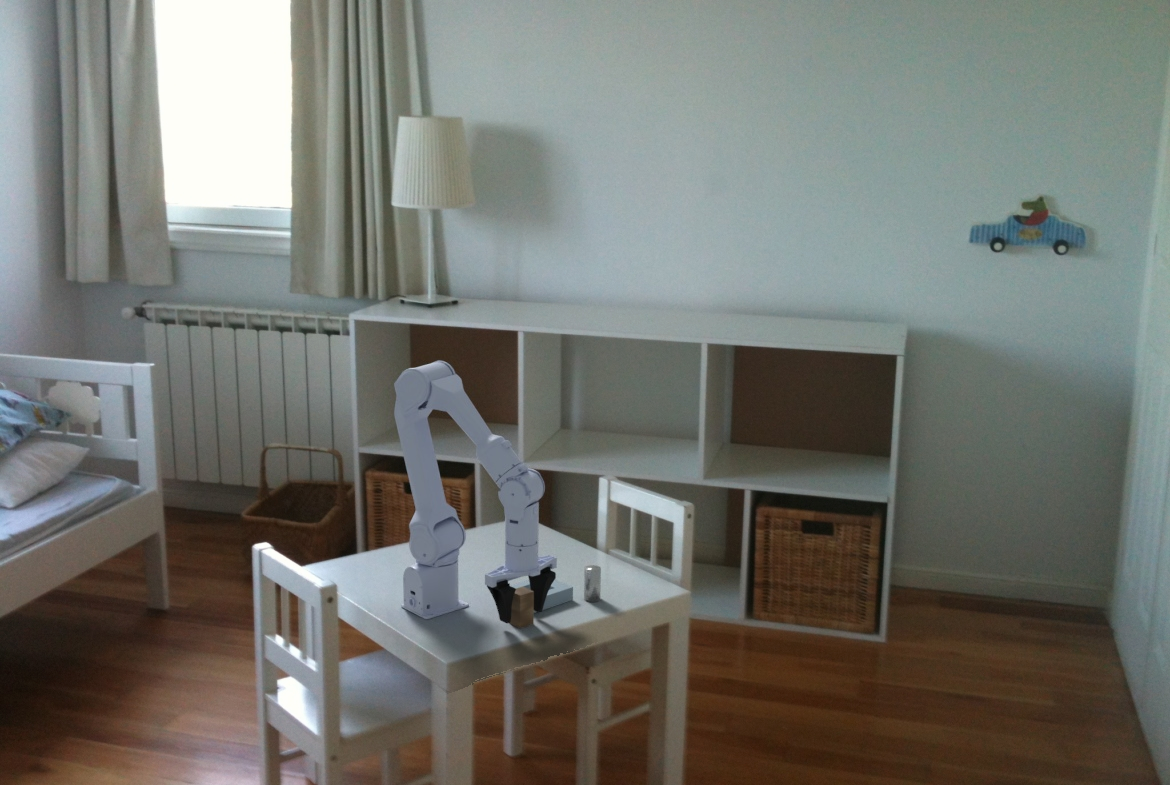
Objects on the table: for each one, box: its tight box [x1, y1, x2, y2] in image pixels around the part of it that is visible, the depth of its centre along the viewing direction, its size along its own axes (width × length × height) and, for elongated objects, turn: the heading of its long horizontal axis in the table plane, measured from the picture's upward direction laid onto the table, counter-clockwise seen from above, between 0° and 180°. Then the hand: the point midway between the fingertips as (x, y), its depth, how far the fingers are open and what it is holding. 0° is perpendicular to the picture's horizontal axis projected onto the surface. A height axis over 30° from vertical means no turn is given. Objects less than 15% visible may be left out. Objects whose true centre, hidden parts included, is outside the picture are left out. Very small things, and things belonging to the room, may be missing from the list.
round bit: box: [583, 564, 602, 603], centre depth 208 cm, size 3×3×6 cm
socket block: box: [510, 579, 574, 614], centre depth 207 cm, size 10×8×2 cm
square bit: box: [508, 587, 535, 629], centre depth 196 cm, size 3×3×6 cm
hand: (521, 615), depth 197 cm, fingers open, 7 cm apart
